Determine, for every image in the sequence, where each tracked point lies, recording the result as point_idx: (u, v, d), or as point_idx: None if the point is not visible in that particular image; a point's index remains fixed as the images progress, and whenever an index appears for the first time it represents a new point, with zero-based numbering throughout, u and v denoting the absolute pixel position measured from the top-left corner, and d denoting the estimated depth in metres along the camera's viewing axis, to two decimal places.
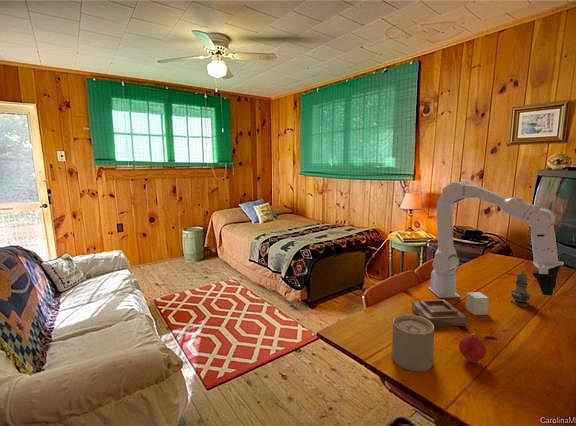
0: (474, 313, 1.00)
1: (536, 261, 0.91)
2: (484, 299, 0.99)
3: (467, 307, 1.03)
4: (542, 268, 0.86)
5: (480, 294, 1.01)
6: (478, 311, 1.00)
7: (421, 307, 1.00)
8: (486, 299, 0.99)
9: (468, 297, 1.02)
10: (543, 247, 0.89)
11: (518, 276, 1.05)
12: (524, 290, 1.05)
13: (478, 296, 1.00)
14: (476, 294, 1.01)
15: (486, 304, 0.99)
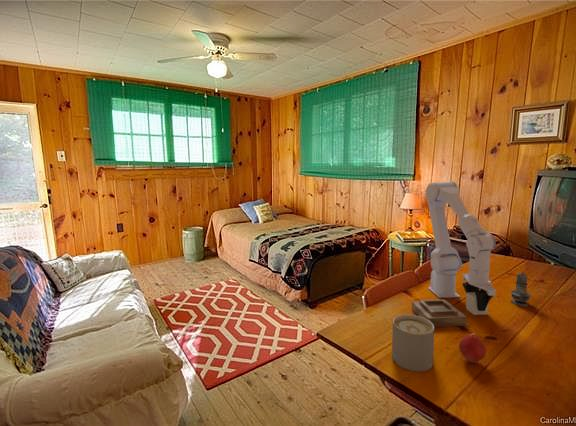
0: (474, 313, 1.00)
1: (476, 282, 0.98)
2: None
3: (467, 307, 1.03)
4: (492, 290, 0.93)
5: None
6: (478, 311, 1.00)
7: (421, 307, 1.00)
8: None
9: (468, 297, 1.02)
10: (472, 268, 0.99)
11: (518, 276, 1.05)
12: (524, 290, 1.05)
13: None
14: None
15: None
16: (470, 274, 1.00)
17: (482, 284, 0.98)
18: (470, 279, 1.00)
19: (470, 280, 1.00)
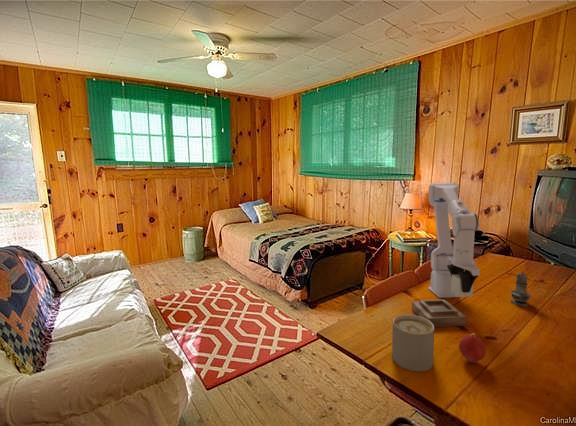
0: (459, 295, 0.97)
1: (460, 263, 0.96)
2: None
3: (452, 289, 1.01)
4: (476, 270, 0.91)
5: None
6: (463, 293, 0.97)
7: (421, 307, 1.00)
8: None
9: (453, 279, 1.00)
10: (454, 247, 0.97)
11: (518, 276, 1.05)
12: (524, 290, 1.05)
13: None
14: None
15: None
16: (454, 255, 0.97)
17: (466, 265, 0.95)
18: (454, 260, 0.98)
19: (454, 261, 0.98)
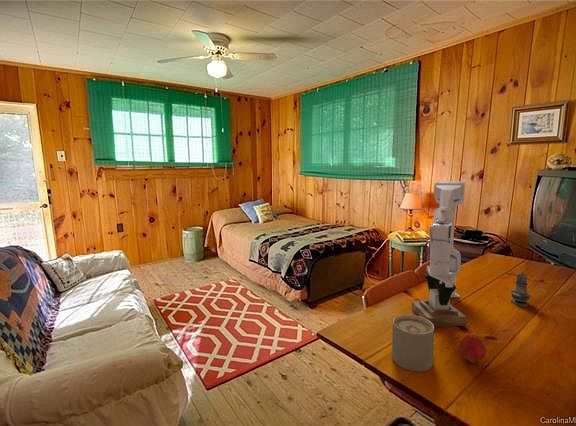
0: None
1: (435, 273, 0.95)
2: None
3: (430, 304, 1.00)
4: (449, 282, 0.90)
5: None
6: (439, 309, 0.96)
7: (421, 307, 1.00)
8: None
9: (430, 294, 0.99)
10: (430, 257, 0.97)
11: (518, 276, 1.05)
12: (524, 290, 1.05)
13: None
14: None
15: None
16: (430, 265, 0.96)
17: (441, 276, 0.94)
18: (430, 270, 0.97)
19: (430, 271, 0.97)
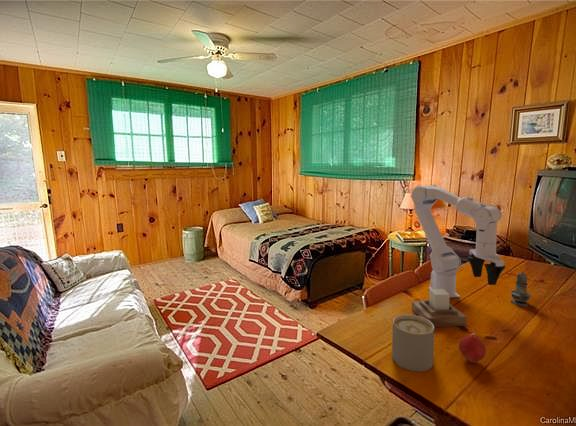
0: None
1: (483, 254, 0.99)
2: (445, 296, 0.95)
3: (430, 304, 1.00)
4: (500, 261, 0.94)
5: (442, 291, 0.98)
6: (439, 309, 0.96)
7: (421, 307, 1.00)
8: (447, 296, 0.95)
9: (430, 294, 0.99)
10: (482, 241, 0.99)
11: (518, 276, 1.05)
12: (524, 290, 1.05)
13: (439, 293, 0.96)
14: (439, 291, 0.98)
15: (447, 301, 0.96)
16: (477, 247, 1.00)
17: (490, 256, 0.98)
18: (477, 252, 1.01)
19: (477, 253, 1.01)
